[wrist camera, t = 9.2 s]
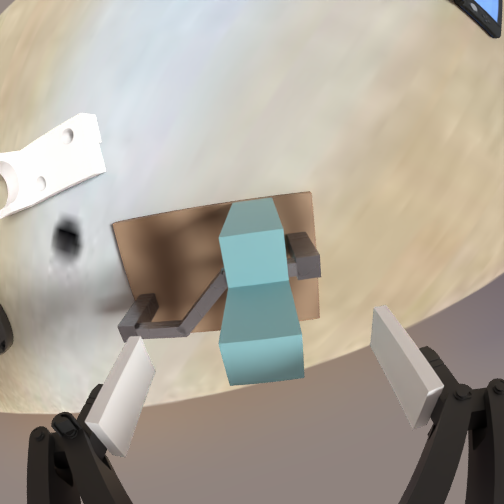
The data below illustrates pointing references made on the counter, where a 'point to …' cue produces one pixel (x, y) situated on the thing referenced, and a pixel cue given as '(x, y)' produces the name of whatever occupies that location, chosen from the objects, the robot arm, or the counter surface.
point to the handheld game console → (485, 14)
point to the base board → (202, 257)
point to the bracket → (52, 163)
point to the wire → (211, 296)
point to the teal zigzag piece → (258, 298)
